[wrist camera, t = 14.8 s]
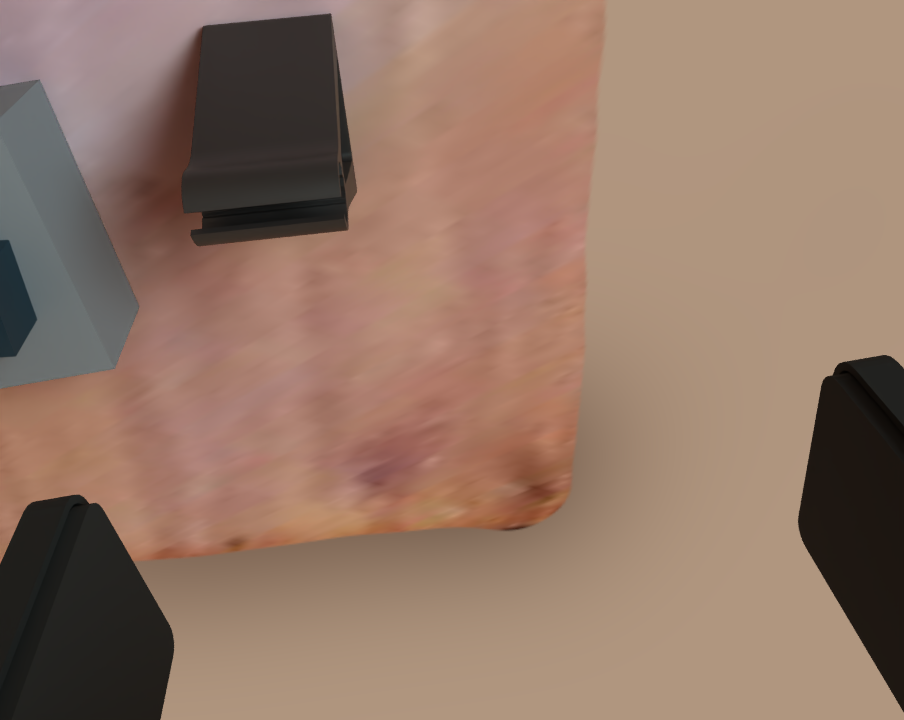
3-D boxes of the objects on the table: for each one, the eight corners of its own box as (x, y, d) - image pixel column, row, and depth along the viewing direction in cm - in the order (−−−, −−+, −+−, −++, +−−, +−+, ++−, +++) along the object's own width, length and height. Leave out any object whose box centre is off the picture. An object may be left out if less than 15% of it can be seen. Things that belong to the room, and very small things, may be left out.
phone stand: (356, 189, 43) (358, 307, 34) (245, 200, 43) (214, 322, 33) (332, 12, 38) (326, 91, 28) (204, 23, 38) (153, 106, 28)
